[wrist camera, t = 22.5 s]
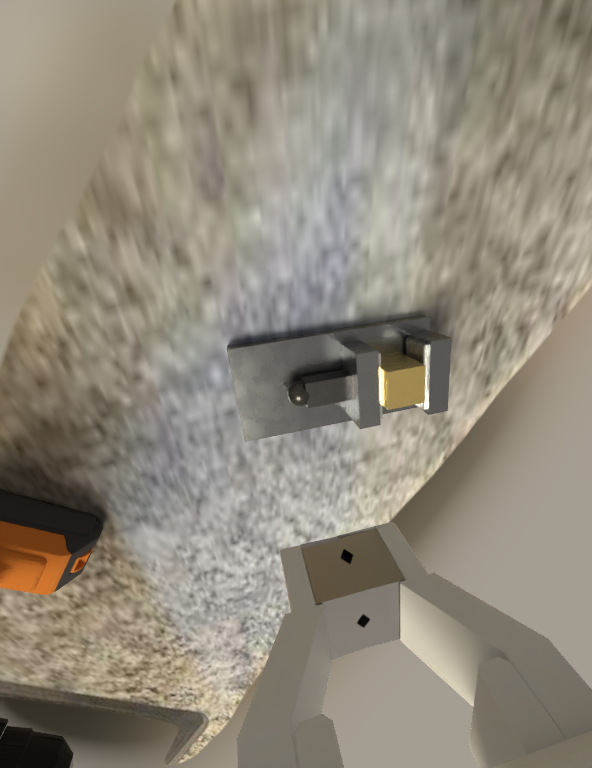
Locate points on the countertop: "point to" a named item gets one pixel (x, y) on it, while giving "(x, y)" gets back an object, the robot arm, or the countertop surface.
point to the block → (401, 381)
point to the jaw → (346, 385)
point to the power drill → (42, 576)
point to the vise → (324, 354)
